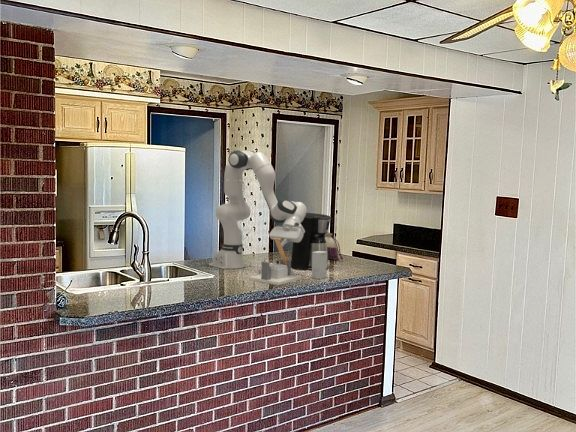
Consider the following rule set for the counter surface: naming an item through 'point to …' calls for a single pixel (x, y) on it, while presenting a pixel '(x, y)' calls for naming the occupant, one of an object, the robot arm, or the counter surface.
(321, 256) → the skincare box
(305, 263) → the coffee maker
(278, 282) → the socket board
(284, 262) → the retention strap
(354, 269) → the counter surface
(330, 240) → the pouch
